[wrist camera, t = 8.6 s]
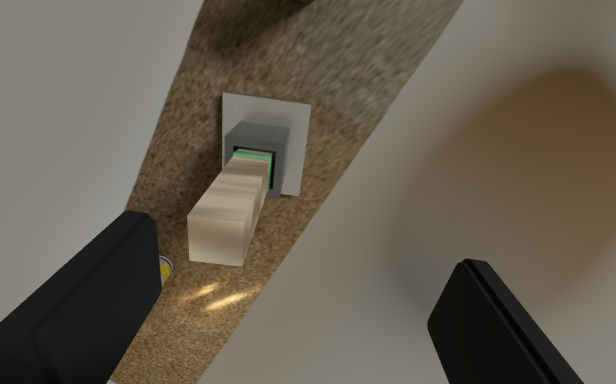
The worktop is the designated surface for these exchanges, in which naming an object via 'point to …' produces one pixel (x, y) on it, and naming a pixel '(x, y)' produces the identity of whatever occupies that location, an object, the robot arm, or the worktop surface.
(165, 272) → the supplement bottle
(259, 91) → the worktop surface
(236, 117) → the stand base
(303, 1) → the soda can
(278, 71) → the worktop surface
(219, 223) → the column
